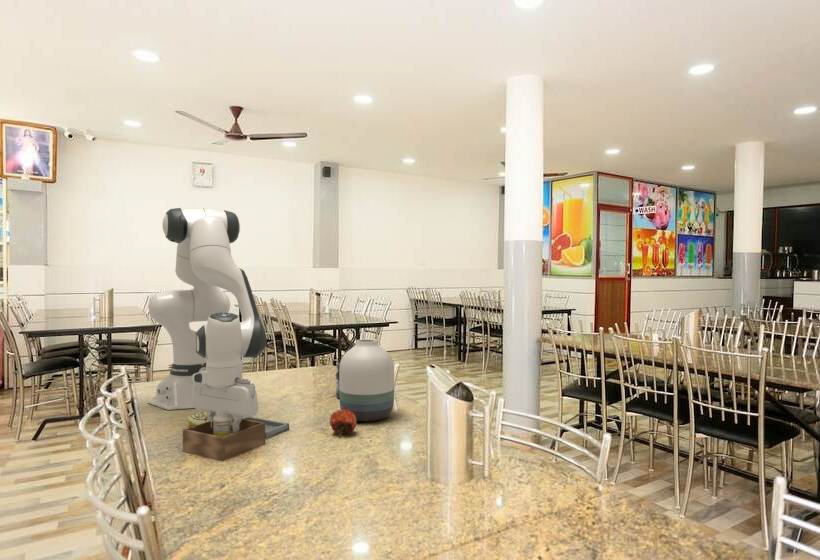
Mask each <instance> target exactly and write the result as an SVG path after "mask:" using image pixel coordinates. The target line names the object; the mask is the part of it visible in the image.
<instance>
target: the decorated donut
mask: <svg viewBox="0 0 820 560" xmlns="http://www.w3.org/2000/svg"><path fill="white" fill-rule="evenodd" d="M216 414H217V413H216ZM208 421H210V420H209V417H208V415H207V410H201V411H198V412H196V413H195V412H194V414H191V415H189V416H188V417H187V423H188V425H189V428H190V427H193V426H196V425H199V424H202V423H205V422H208Z"/></svg>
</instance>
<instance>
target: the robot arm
mask: <svg viewBox="0 0 820 560" xmlns="http://www.w3.org/2000/svg"><path fill="white" fill-rule="evenodd" d="M162 231H163V233H164V235H165V238H166V239H167V240H168V241H169V242H172V243H176V244H177V246H176V257H175V258H176V260H175V271H174V272H175V274H176V277H177V278H178V279H179V280H181V281H182V282H183V283H185V284H187V285H190V286H192V287H193V288H192V289H176V290H175V289H173V290H163V291H160V292H156V293H154V294H153V295H152V297H151V298H150V299H149V301H148V312H149V315H150V317H151V318H152V319H153V320H154V321H155V322H156V323H158V324H160V325H161V326H162V327H163V328H164V329H165V330H166V331H167V333H168V334H169V336H170V340H171V342H172V355H173V362H172V364H168V365H167V366H169V367H168V369H170V370H169V374H168V375H167V376H166V377H165V378H164V379H163V380H162V381H160V382H159V383H158V384H157V386H156V389H155V397H152V398H150V399H148V400H147V401H148V404H150V405H153V406H154V407H155V406H156V407H158V408H161V409H164V410H168V411H172V410H184V409H193V408H194V409H197V410H201V411H207V415H208V417H209V420H210V421H211V428H213V418H214V416H216V412H217V410H221V411H222V413H223V414H229V415H233V419H234V422H233V424H232V425H230V431H231V432H238V431H239V424H240V422H241V420H242V418H244V417H245V418H248V417H254V416H255V415H257V413H258V412H259V402H258V401H259V400H258V397H257V396H258V395H257V390H256V385H255V384H254V382H252V380H251V379H247V378H246V379H245V378H243V361H242V358H257V357H258V356H260V355H261V354H262V352H264V351H265V350H266V348H267V343H268V342H267V340H268V339H267V333H266V331H265V330H266V329H265V327H264V324H263V321H262V320H261V318H260V315H259V312H258V308H257V304H256V300H255V296H254V295H253V290H252V288H251V285H250V281H249V279H248V276H247V274H246V272H245V270H244V269H242V268H240V267H238V265H237V264H236V263H235V261H234V259H233V256H232V251H231V250H232V249H231V244H233V243H235V242H236V241H237V240H238V238H239V234H240V233H241V223H240V221H239V217H238V215H237V214H236V213H235V212H232V211H229V210H218V209H213V208H205V207H204V208H203V207H202V208H181V207H178V208H177V207H176V208H175V207H174V208H170V209H169V210H167V211H166V212H165V215H164V217H163V219H162ZM222 289H223V290H225V291H228V293H231V294H232V295H233V296H234V297H235V298H236V301H237V304H238V308H239V311H240V315H241V319H242V321H240V316H238V315H237V314H235V313H232V312H230V309H231V301H230V298H229V296H228V294H227V293H226V292H225V291H223V290H222ZM192 322H193V323H194V322H198V323H199V322H207V324H203V325H202V326H201V327H200V328H199V329H198V330H197V331H195V330H193V329H192V328H191V327H190V323H192Z"/></svg>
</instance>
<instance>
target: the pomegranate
mask: <svg viewBox="0 0 820 560" xmlns="http://www.w3.org/2000/svg"><path fill="white" fill-rule="evenodd" d="M329 426H330V427H331V428H332V431H333V432H334V433H335V434H339V440H340V439H341V436H342V434H351V433H353V432H354V431H355V429H356V426H357V421H356V417H355V414H354V413H353V412H352V411H349V410H348V409H346V408H345V409H342V410H341V409H339V410H336V411H333V412H332V413H331V415H330V418H329Z"/></svg>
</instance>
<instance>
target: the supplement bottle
mask: <svg viewBox="0 0 820 560" xmlns="http://www.w3.org/2000/svg"><path fill="white" fill-rule="evenodd" d="M216 413H217V414H216V416H214V418H213V435H215V436H220V437H225V436H228V435H231V434H233V433H236V432H231V431H230V425H232V424H233V422H234V419H233V415H229V414H223V413H222V411H221V410H217V412H216Z"/></svg>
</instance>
